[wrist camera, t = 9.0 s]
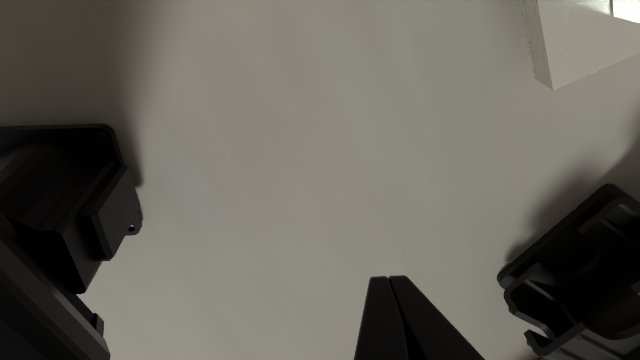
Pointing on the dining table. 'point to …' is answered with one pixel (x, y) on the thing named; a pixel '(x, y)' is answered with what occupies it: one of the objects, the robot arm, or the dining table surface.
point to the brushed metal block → (627, 9)
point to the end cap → (582, 282)
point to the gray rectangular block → (575, 38)
